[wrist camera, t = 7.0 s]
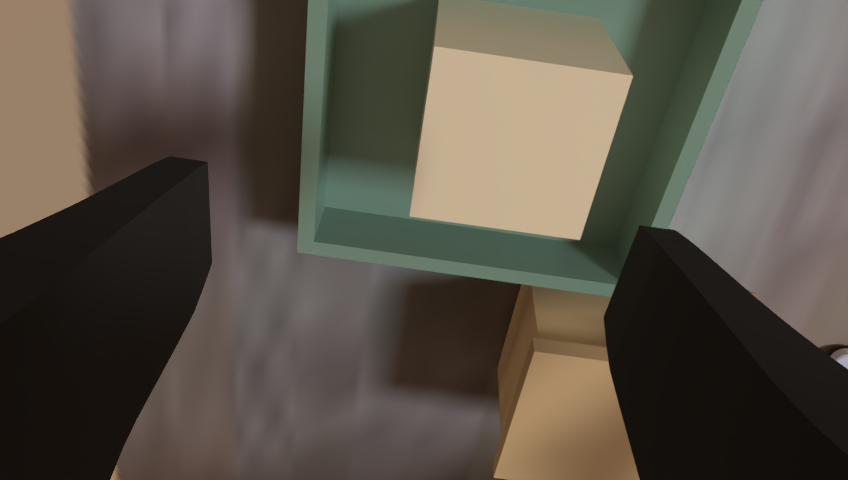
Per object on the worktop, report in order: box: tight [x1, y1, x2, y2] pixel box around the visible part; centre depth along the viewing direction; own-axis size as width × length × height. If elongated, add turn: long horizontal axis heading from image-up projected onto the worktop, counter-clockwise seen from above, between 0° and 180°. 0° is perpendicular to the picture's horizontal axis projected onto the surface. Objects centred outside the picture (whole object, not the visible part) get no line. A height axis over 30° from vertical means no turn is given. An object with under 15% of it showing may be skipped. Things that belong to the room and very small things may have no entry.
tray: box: [297, 0, 763, 297], centre depth 19 cm, size 11×11×2 cm
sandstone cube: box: [409, 0, 633, 240], centre depth 18 cm, size 4×4×4 cm
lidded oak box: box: [493, 284, 759, 480], centre depth 24 cm, size 9×6×5 cm, turn 82°
